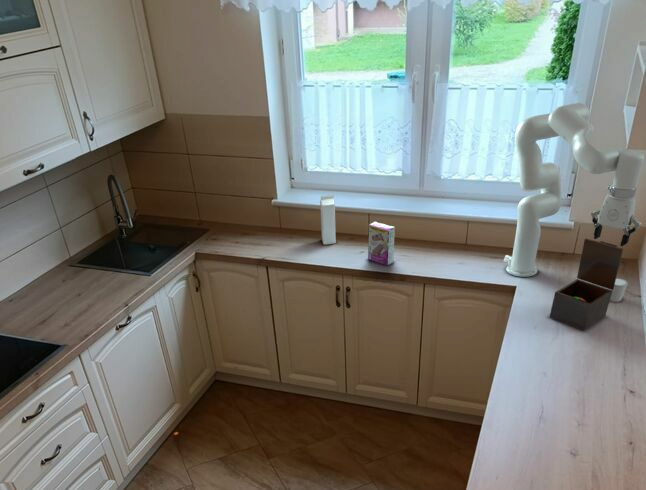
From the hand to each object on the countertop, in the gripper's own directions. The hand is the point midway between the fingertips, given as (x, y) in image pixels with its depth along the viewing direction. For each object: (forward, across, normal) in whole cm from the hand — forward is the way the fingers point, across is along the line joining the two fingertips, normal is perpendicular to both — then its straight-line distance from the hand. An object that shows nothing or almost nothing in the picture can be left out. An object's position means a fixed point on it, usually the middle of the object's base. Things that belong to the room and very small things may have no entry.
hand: (609, 241), depth 207 cm
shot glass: (+26, +2, +13) cm, 29 cm away
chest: (+26, 0, -10) cm, 28 cm away
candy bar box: (+26, -88, -24) cm, 94 cm away
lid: (+8, 0, -4) cm, 8 cm away
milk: (+25, -122, -25) cm, 127 cm away
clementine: (+26, -1, -11) cm, 28 cm away
